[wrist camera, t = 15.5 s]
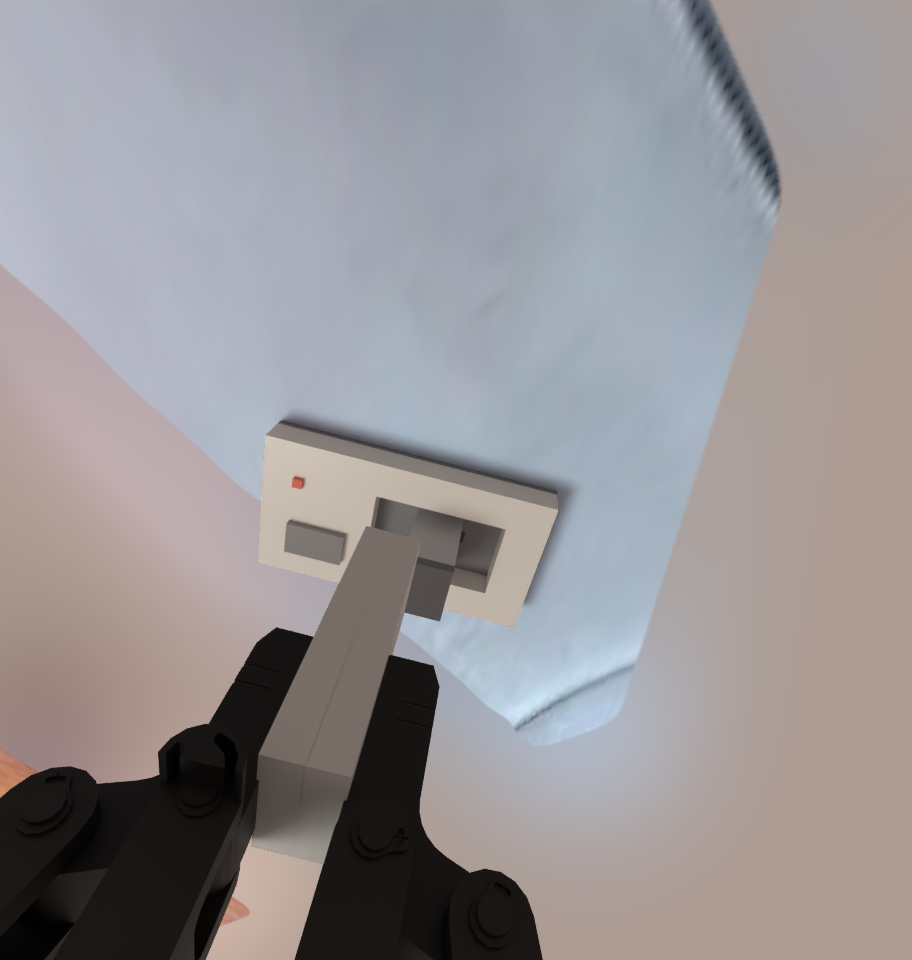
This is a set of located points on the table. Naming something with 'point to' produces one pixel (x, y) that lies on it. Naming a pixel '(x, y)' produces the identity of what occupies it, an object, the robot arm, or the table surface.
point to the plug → (433, 562)
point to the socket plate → (399, 515)
